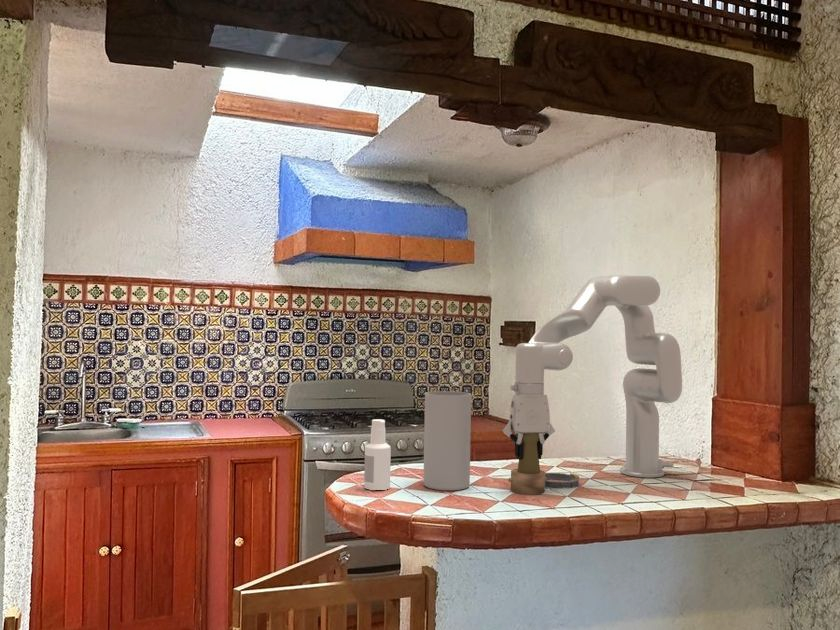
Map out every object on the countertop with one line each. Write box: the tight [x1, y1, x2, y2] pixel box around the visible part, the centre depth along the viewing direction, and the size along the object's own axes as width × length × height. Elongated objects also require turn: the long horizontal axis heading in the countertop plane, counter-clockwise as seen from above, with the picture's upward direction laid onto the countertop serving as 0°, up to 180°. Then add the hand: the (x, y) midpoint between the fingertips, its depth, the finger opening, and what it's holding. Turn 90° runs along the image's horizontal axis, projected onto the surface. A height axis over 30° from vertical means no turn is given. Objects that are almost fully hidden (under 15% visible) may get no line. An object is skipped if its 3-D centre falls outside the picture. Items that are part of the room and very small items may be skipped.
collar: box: [545, 472, 580, 489], centre depth 192 cm, size 12×12×2 cm
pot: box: [507, 468, 548, 496], centre depth 182 cm, size 11×9×5 cm
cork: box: [517, 433, 541, 474], centre depth 183 cm, size 6×6×11 cm
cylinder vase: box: [422, 390, 472, 492], centre depth 186 cm, size 12×12×25 cm
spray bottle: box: [363, 418, 392, 491], centre depth 182 cm, size 7×7×18 cm
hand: (528, 457), depth 183 cm, fingers open, 4 cm apart
